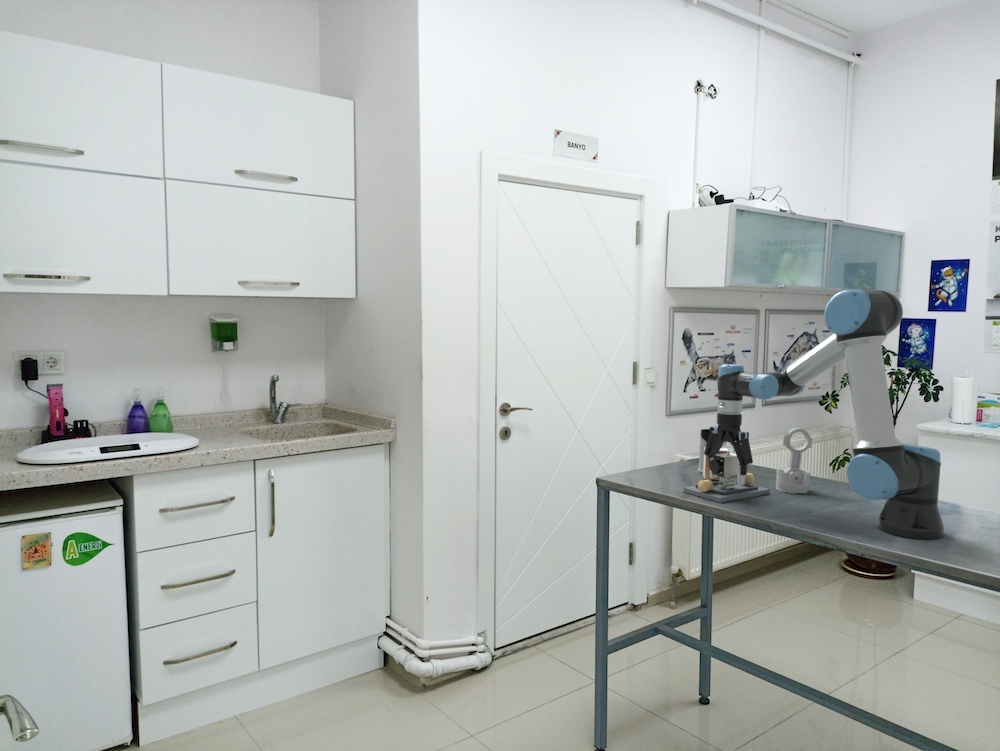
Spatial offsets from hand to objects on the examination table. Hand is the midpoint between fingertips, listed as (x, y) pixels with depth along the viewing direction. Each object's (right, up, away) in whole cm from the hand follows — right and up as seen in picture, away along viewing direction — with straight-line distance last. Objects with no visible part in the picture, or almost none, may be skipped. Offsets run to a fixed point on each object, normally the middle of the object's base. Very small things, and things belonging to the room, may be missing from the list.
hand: (726, 481), depth 224 cm
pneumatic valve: (0, -2, 0) cm, 2 cm away
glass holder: (+7, -1, +33) cm, 33 cm away
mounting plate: (0, -4, 0) cm, 4 cm away
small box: (+3, -2, +21) cm, 21 cm away
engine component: (+24, -4, +6) cm, 25 cm away
